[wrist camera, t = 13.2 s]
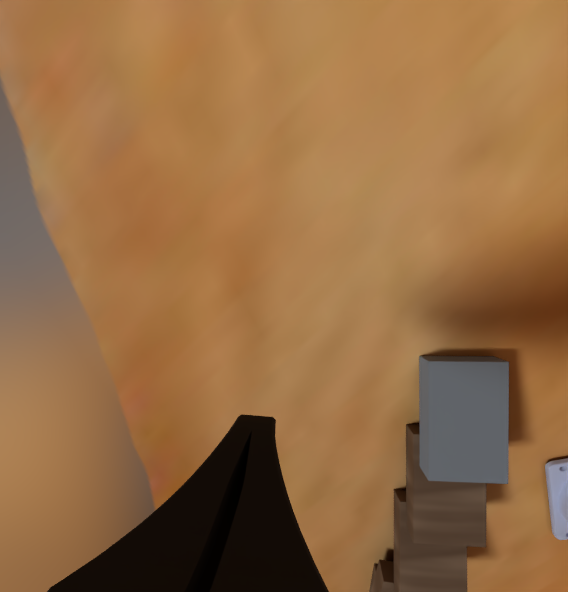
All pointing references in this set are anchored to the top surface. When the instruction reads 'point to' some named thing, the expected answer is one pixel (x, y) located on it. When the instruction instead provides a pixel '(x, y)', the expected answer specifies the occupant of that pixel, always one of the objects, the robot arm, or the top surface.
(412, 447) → the domino
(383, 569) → the domino
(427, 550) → the domino
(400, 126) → the top surface
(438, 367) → the domino
